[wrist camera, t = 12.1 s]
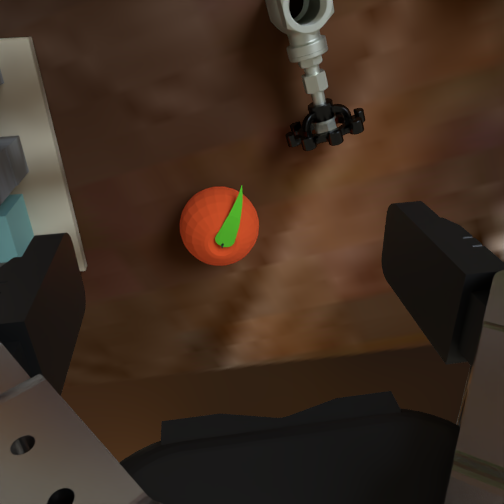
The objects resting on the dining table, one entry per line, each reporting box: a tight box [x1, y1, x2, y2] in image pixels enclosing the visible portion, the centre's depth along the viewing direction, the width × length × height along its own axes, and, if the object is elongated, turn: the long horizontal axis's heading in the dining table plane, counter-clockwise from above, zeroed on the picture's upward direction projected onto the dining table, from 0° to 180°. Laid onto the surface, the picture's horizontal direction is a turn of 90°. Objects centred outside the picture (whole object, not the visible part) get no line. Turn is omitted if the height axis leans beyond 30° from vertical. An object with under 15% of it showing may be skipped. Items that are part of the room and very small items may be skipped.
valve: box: [265, 0, 365, 151], centre depth 36 cm, size 7×7×12 cm
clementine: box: [180, 185, 259, 266], centre depth 41 cm, size 8×7×7 cm
